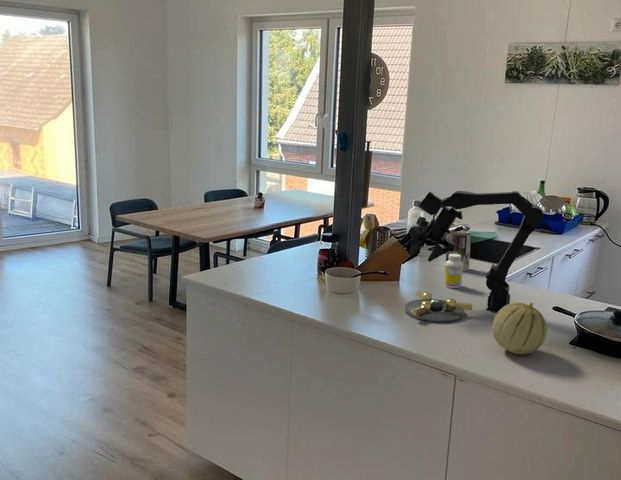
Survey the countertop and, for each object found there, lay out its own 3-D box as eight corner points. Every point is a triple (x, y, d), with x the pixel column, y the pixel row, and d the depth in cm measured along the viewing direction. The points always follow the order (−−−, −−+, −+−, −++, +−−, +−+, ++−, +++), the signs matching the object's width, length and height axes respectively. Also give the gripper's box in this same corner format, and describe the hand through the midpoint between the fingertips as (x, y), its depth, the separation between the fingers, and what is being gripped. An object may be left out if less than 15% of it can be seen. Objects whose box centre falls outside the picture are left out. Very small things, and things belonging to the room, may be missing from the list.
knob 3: (445, 310, 197) (446, 301, 196) (445, 306, 200) (446, 298, 199) (472, 312, 195) (472, 303, 195) (471, 309, 198) (472, 300, 198)
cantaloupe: (480, 346, 172) (484, 298, 169) (518, 339, 178) (523, 292, 174) (515, 366, 159) (520, 314, 155) (555, 357, 164) (561, 307, 161)
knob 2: (424, 309, 198) (424, 300, 197) (432, 311, 196) (433, 302, 195) (410, 315, 192) (410, 306, 191) (418, 317, 189) (419, 308, 189)
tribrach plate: (474, 312, 200) (475, 300, 199) (444, 327, 186) (445, 314, 185) (424, 299, 214) (425, 288, 213) (393, 312, 199) (394, 300, 198)
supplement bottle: (448, 282, 235) (450, 252, 232) (464, 286, 231) (466, 254, 228) (441, 286, 230) (443, 255, 227) (456, 289, 225) (458, 258, 223)
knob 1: (433, 303, 204) (433, 294, 203) (424, 304, 203) (425, 295, 202) (421, 296, 212) (422, 287, 211) (413, 296, 211) (414, 288, 210)
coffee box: (469, 268, 256) (472, 233, 253) (464, 272, 251) (467, 235, 247) (449, 265, 261) (451, 230, 257) (444, 268, 256) (447, 233, 252)
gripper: (449, 218, 214) (426, 251, 220) (412, 204, 205) (390, 240, 210) (465, 233, 206) (441, 268, 211) (428, 220, 196) (404, 257, 202)
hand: (419, 258), depth 209 cm, fingers open, 9 cm apart
